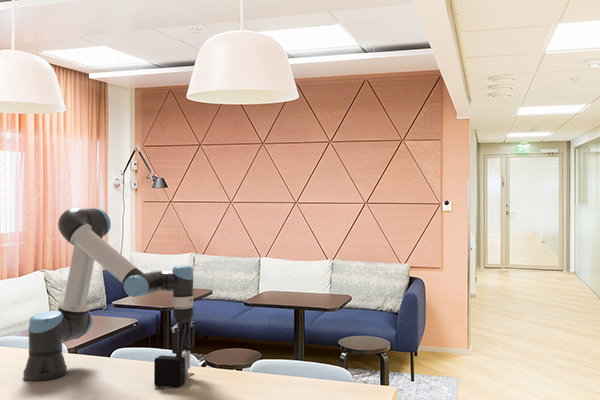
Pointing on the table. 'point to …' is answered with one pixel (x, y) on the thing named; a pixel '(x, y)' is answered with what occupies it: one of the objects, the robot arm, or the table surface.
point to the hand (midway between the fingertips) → (183, 369)
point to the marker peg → (186, 364)
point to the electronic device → (169, 371)
